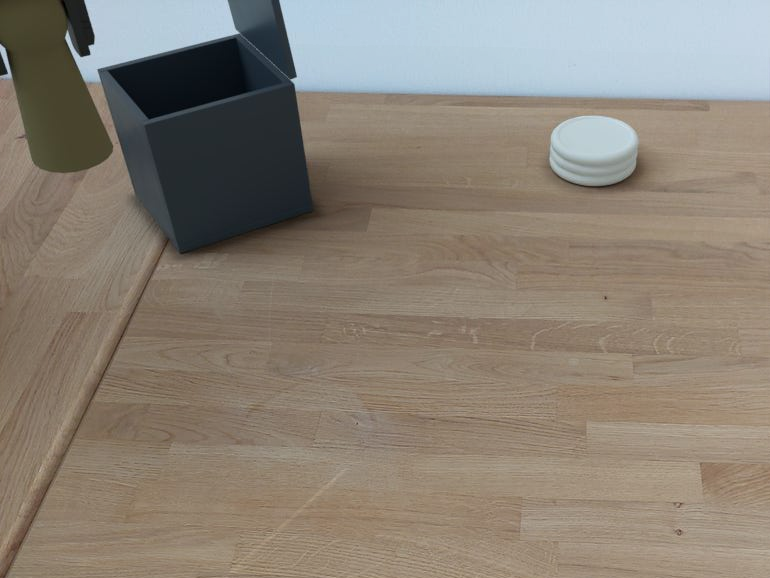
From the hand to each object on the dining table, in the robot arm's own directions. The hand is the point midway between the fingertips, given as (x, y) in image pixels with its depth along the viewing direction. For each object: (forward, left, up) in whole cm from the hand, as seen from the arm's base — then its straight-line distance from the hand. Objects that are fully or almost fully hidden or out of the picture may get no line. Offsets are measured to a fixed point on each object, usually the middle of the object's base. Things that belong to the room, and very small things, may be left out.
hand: (41, 60), depth 68 cm
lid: (+10, +32, -5) cm, 34 cm away
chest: (+4, +29, -27) cm, 40 cm away
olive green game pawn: (0, 0, -7) cm, 7 cm away
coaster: (+46, +34, -27) cm, 64 cm away
